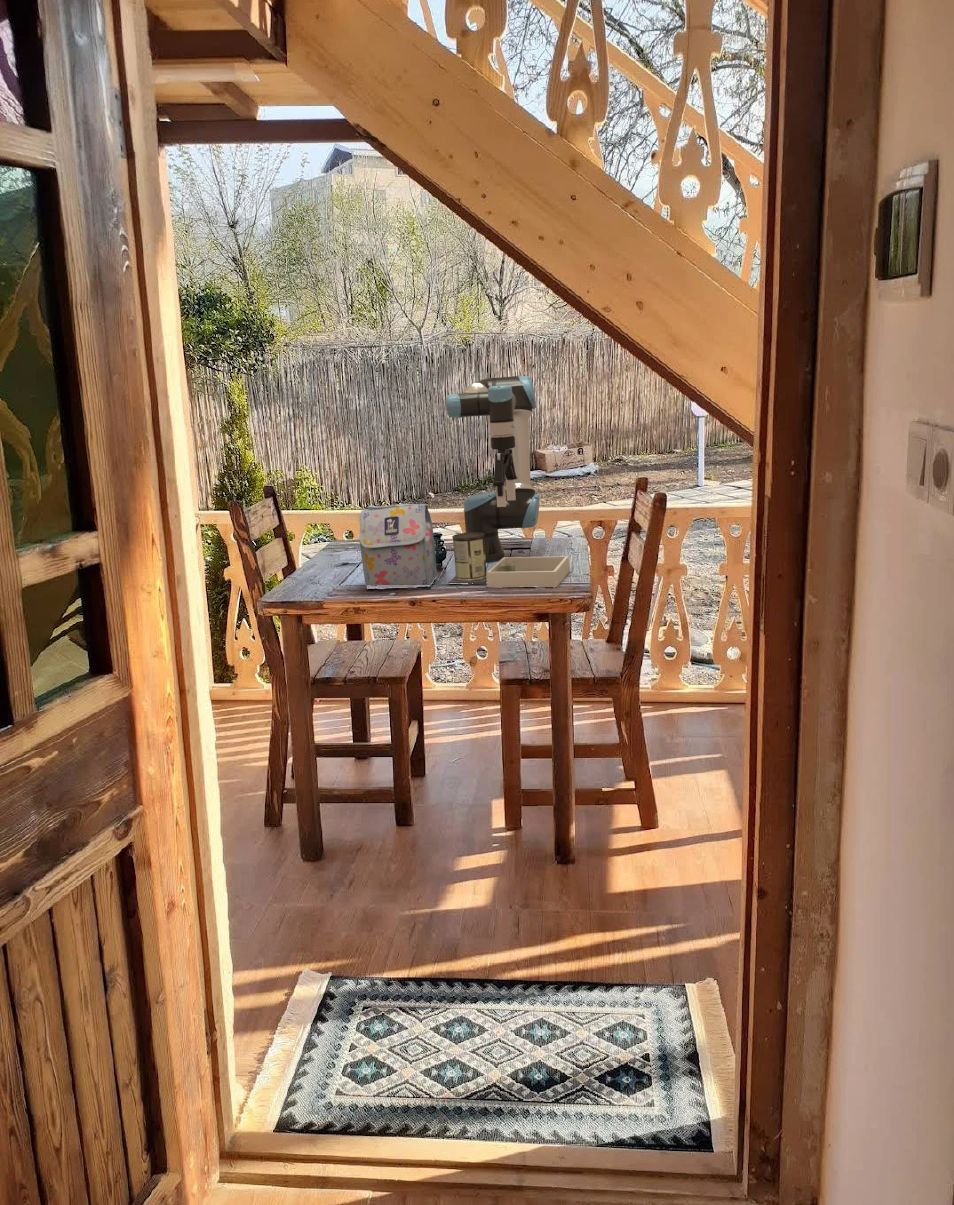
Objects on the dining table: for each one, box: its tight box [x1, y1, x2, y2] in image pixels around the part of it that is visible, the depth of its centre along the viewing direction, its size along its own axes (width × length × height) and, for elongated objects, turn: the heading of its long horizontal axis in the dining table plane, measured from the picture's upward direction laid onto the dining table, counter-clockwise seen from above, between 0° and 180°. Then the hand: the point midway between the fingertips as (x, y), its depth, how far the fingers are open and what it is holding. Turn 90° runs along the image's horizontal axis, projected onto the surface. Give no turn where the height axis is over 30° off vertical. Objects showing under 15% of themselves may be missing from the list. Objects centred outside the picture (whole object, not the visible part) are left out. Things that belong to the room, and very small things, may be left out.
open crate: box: [486, 555, 570, 589], centre depth 331 cm, size 22×24×5 cm
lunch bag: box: [359, 503, 439, 586], centre depth 332 cm, size 22×17×26 cm
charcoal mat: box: [448, 575, 487, 585], centre depth 336 cm, size 12×12×1 cm
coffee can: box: [451, 532, 487, 581], centre depth 334 cm, size 10×10×14 cm
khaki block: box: [500, 563, 515, 572], centre depth 333 cm, size 4×4×5 cm
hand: (506, 503), depth 328 cm, fingers open, 13 cm apart
